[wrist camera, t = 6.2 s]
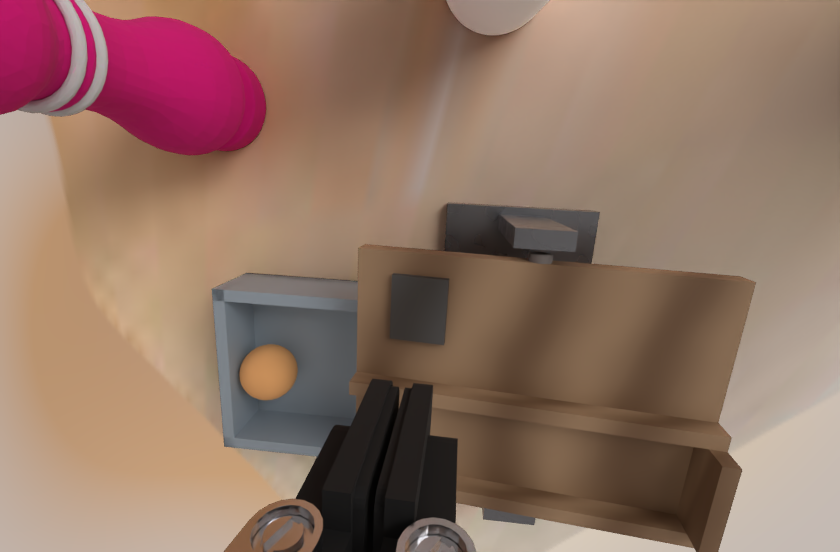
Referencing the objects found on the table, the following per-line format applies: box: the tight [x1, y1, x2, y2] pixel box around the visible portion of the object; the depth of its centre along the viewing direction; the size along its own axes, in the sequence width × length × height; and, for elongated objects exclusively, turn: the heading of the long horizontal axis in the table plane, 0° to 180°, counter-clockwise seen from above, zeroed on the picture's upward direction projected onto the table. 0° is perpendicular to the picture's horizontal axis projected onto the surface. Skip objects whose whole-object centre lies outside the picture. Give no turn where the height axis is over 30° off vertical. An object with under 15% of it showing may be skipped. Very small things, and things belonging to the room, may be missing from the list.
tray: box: [349, 244, 756, 552], centre depth 21 cm, size 19×15×4 cm
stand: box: [445, 202, 600, 525], centre depth 26 cm, size 10×18×9 cm, turn 177°
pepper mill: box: [0, 0, 266, 155], centre depth 18 cm, size 7×7×20 cm
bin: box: [212, 273, 358, 456], centre depth 29 cm, size 13×12×4 cm
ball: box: [239, 344, 298, 400], centre depth 29 cm, size 4×4×4 cm
